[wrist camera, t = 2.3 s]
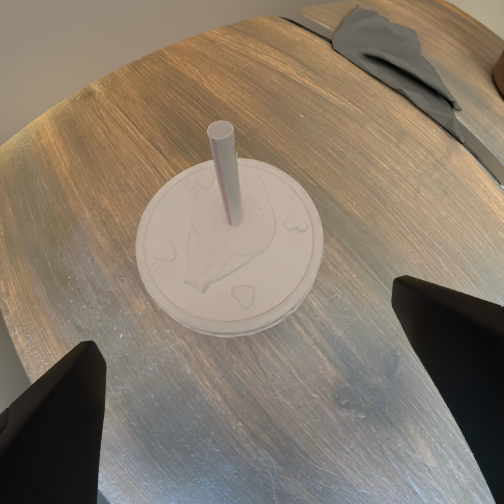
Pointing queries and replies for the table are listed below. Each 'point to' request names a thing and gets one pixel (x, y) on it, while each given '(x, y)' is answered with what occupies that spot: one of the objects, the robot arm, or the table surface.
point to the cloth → (396, 63)
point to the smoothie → (229, 243)
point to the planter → (499, 72)
